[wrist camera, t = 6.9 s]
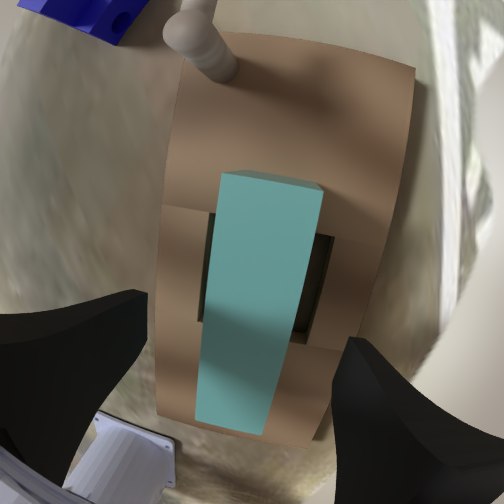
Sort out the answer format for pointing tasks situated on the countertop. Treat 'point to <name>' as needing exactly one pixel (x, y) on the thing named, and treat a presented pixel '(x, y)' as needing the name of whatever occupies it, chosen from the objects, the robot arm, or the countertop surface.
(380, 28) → the countertop surface
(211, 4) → the slotted wooden board
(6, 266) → the countertop surface
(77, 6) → the blue concave arch block
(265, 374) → the teal rectangular block
